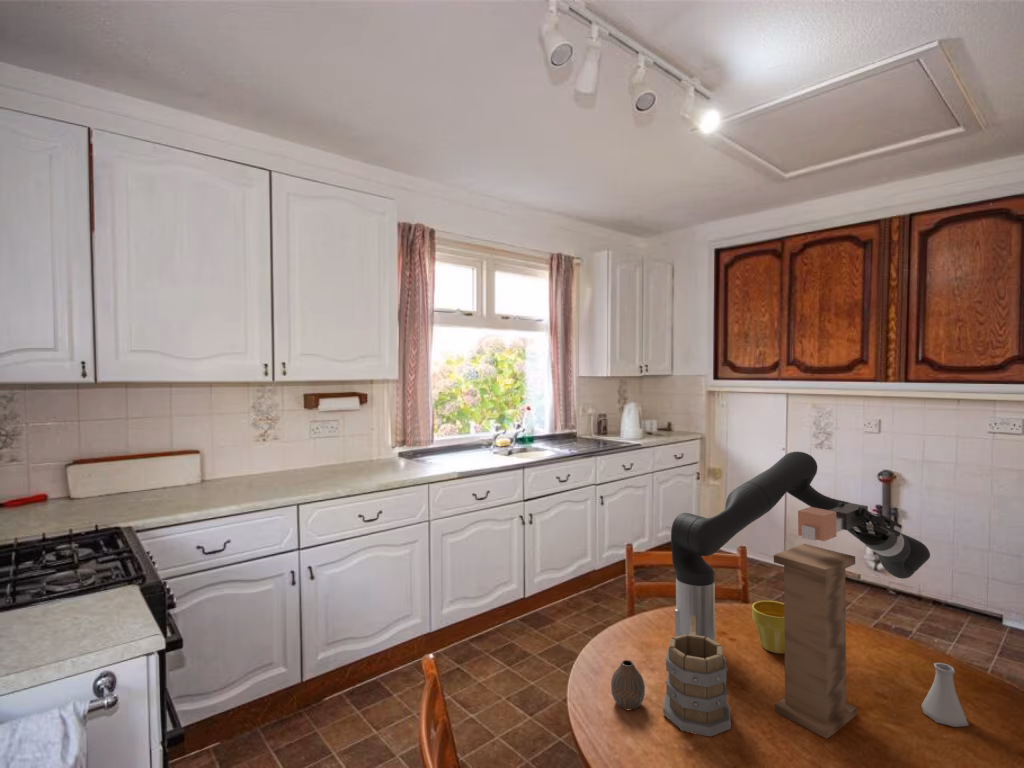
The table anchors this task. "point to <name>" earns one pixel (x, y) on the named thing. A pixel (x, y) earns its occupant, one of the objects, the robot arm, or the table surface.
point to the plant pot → (770, 625)
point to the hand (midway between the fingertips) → (849, 508)
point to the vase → (627, 686)
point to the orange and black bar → (827, 521)
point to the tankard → (696, 684)
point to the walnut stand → (815, 638)
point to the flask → (944, 699)
